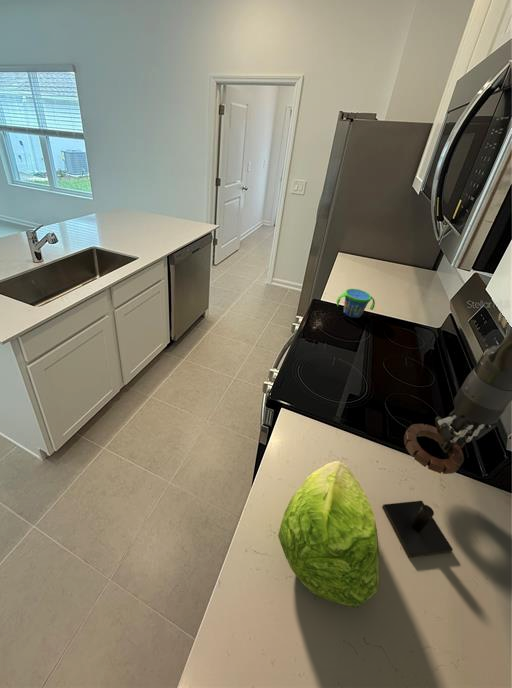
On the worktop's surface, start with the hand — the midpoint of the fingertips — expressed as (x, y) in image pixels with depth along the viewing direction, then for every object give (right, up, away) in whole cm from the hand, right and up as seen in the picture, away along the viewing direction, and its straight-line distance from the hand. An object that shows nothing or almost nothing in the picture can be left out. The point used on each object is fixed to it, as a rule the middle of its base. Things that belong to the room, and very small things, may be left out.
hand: (449, 448), depth 70 cm
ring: (-4, 0, 0) cm, 5 cm away
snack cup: (+6, +28, +67) cm, 73 cm away
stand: (-12, -13, -7) cm, 19 cm away
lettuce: (-31, -13, -9) cm, 35 cm away
